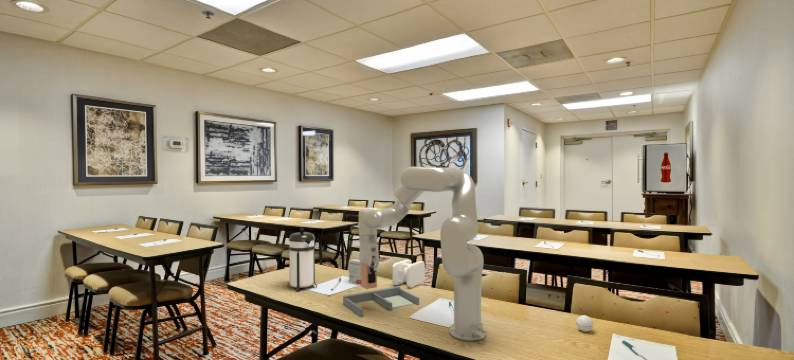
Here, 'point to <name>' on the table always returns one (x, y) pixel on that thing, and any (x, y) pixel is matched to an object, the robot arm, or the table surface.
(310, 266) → the coffee press
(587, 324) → the white rounded lump
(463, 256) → the robot arm
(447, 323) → the table surface
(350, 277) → the ink box
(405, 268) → the cable organizer
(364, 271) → the terracotta block
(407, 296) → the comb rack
